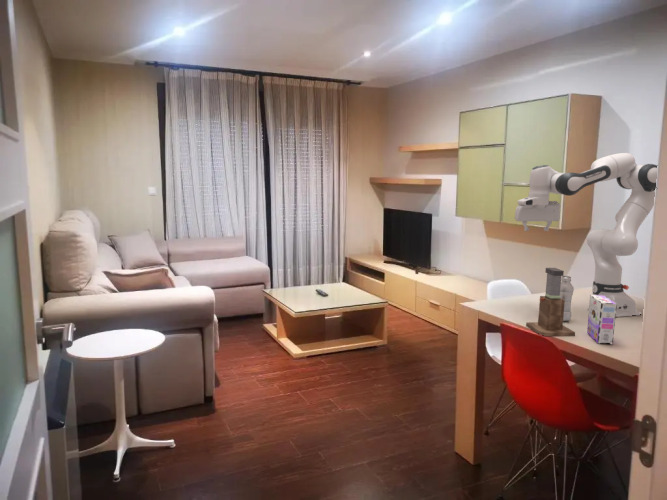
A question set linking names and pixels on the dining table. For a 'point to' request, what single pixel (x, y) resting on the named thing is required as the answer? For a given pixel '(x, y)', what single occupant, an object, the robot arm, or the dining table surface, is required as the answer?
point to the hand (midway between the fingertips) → (536, 230)
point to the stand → (550, 318)
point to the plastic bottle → (566, 296)
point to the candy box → (601, 318)
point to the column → (553, 283)
